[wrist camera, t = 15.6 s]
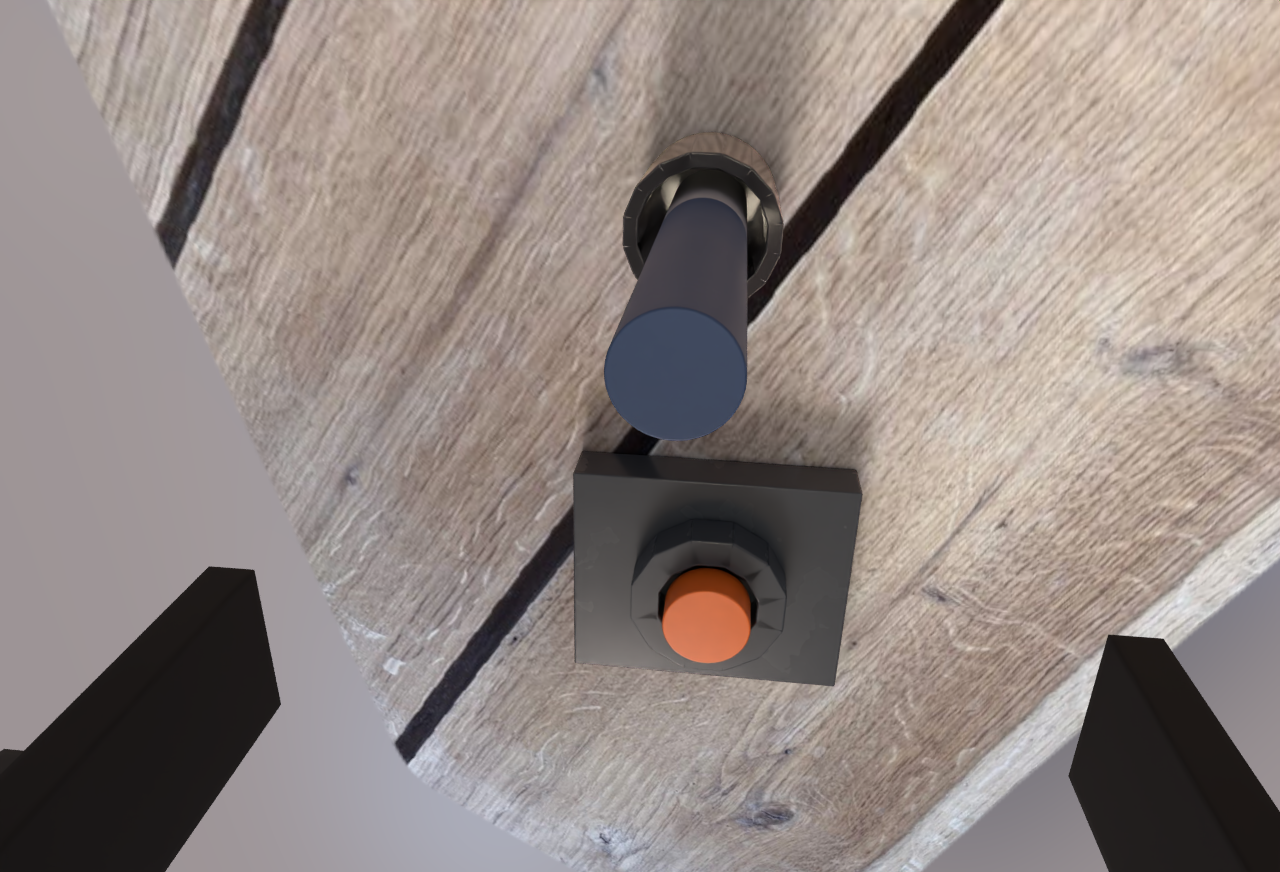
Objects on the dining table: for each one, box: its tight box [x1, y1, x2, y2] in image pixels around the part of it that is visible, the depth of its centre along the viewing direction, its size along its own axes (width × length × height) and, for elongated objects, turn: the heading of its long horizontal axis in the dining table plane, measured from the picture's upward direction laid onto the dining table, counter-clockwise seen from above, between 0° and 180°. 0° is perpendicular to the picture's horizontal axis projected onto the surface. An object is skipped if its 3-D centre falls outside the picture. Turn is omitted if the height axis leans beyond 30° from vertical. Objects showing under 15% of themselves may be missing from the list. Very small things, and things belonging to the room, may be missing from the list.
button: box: [662, 568, 751, 663], centre depth 37 cm, size 4×4×2 cm
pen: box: [604, 169, 747, 441], centre depth 26 cm, size 3×3×18 cm
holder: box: [623, 132, 784, 299], centre depth 32 cm, size 5×5×6 cm
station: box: [573, 451, 862, 686], centre depth 39 cm, size 12×10×4 cm
